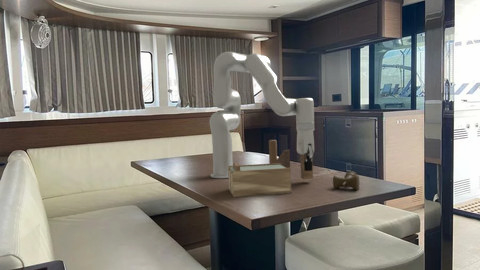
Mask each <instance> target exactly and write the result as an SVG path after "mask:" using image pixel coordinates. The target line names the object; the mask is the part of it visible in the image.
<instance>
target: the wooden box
mask: <svg viewBox="0 0 480 270" xmlns="http://www.w3.org/2000/svg"><path fill="white" fill-rule="evenodd" d="M239 165H240V164H239ZM264 165H281V163H271V164H270V163H259V164H257V163H256V164H243V165H242V164H241V165H240V167H247V166H264ZM230 167H233V166H228V176H229V178H228V190H229V192H230V194H231V195H232V197H233V198H241V197H243V198H244V197H256V196H268V195H269V196H271V195H282V194H283V195H284V194H292V179H291V178H292V175H291V172H292V171H291V167H290V168H277V169H261V170H245V171H231V170H230Z"/></svg>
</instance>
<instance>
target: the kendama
mask: <svg viewBox="0 0 480 270" xmlns="http://www.w3.org/2000/svg"><path fill="white" fill-rule="evenodd" d="M332 185H333V189H335V190H337V189H339V188H344V187H350V188H352V189H353V190H355V191H358V190H360V176H359V175H358V173H356V172H355V171H351V170H350V171H347V172H346V173H345V175H344V176H339V175H337V174H334V175H333V179H332Z"/></svg>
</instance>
